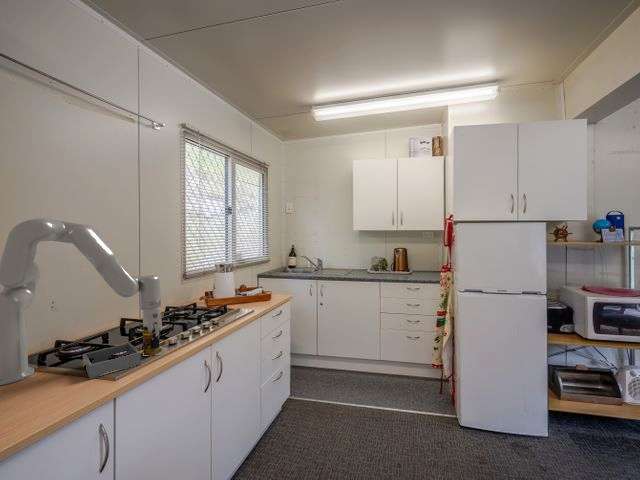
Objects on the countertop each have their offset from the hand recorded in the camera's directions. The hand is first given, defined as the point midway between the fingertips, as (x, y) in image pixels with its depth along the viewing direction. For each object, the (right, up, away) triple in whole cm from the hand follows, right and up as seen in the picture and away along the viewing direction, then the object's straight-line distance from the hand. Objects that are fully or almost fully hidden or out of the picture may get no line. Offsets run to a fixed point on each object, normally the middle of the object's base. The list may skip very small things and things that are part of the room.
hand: (152, 345), depth 132 cm
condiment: (-1, -3, +1) cm, 3 cm away
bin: (-9, -4, -12) cm, 16 cm away
